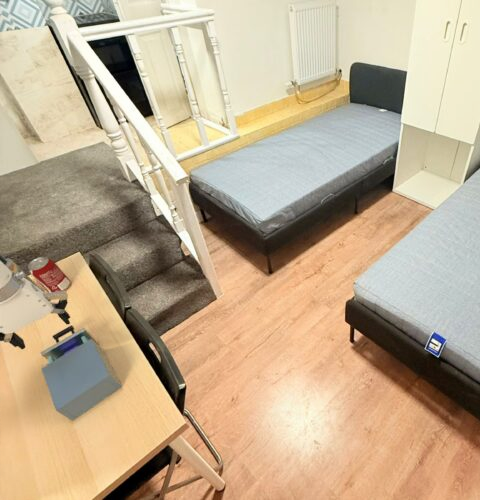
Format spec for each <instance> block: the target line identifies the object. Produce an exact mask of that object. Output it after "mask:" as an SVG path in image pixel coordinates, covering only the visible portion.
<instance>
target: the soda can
mask: <svg viewBox="0 0 480 500" xmlns="http://www.w3.org/2000/svg"><path fill="white" fill-rule="evenodd" d="M27 268H28V272H29V274H30V276H32V277H33V279H35V280H36V282H37V283H39V284H40V285H41V287H43V289H45V291H47V293H52V292H58V291H66V290H67V289H68V288H69V287H70V285H71V280H70V278H69V277H68V276H67V275H66V274H65V273H64V271H63V270H61V268H60V267H59V265H57V263H56V262H55V260H53V259H50V258H48V257H47V256H40V257H36V258H34V259H33V260H31V261H30V262H29V263H28V265H27Z"/></svg>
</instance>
